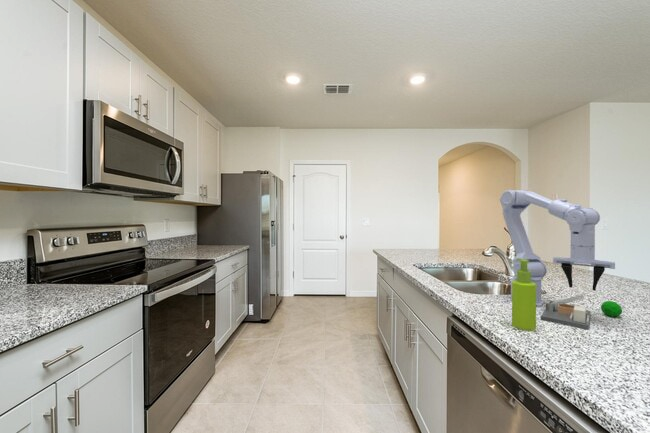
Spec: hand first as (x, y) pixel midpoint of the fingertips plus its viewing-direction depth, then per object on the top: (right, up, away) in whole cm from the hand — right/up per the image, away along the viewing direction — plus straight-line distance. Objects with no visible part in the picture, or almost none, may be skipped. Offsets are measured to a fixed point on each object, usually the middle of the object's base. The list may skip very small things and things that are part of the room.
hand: (582, 288), depth 90 cm
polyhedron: (+13, -10, +3) cm, 16 cm away
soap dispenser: (-23, -10, -6) cm, 26 cm away
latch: (-4, -9, -4) cm, 10 cm away
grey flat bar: (-3, -5, +3) cm, 6 cm away
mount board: (-3, -10, +2) cm, 11 cm away
